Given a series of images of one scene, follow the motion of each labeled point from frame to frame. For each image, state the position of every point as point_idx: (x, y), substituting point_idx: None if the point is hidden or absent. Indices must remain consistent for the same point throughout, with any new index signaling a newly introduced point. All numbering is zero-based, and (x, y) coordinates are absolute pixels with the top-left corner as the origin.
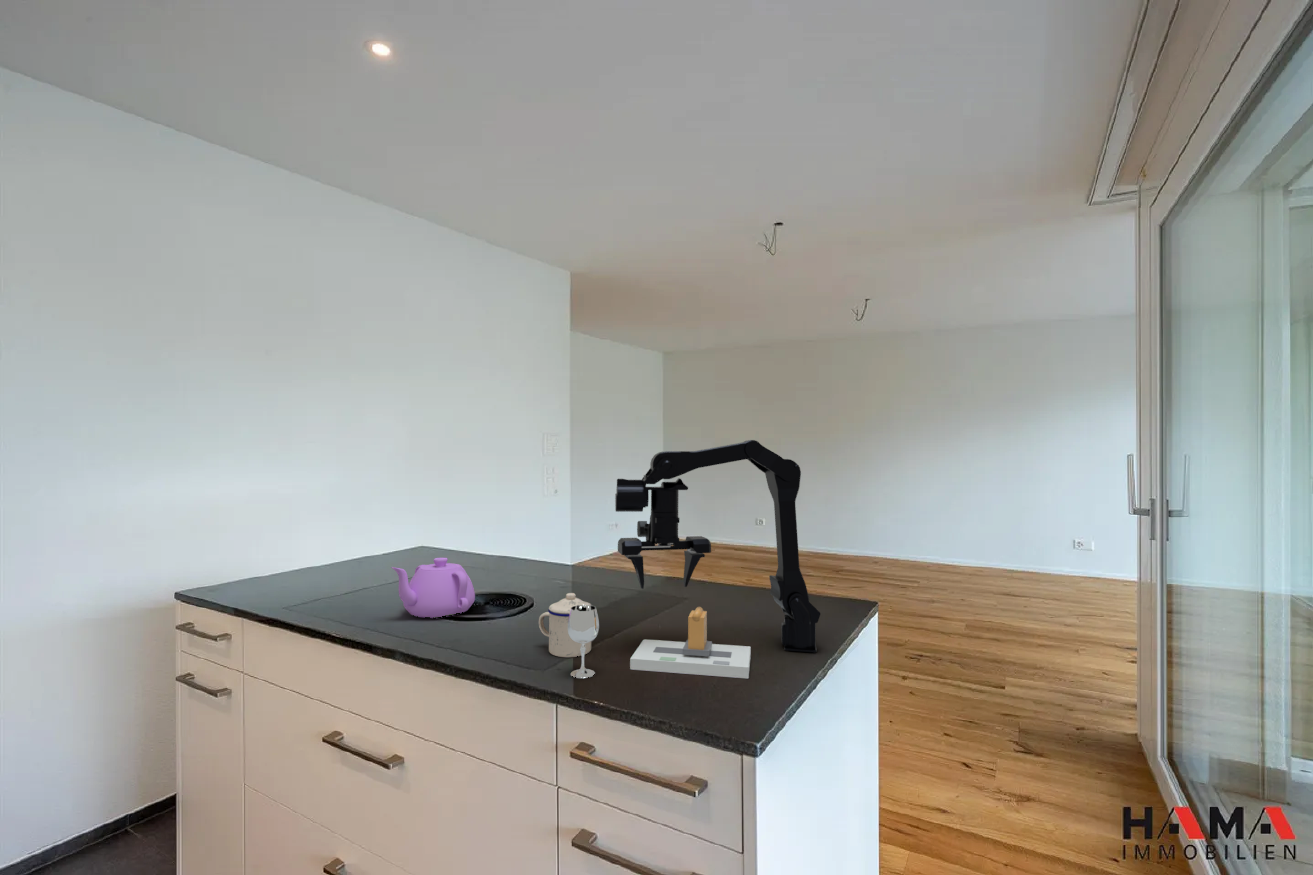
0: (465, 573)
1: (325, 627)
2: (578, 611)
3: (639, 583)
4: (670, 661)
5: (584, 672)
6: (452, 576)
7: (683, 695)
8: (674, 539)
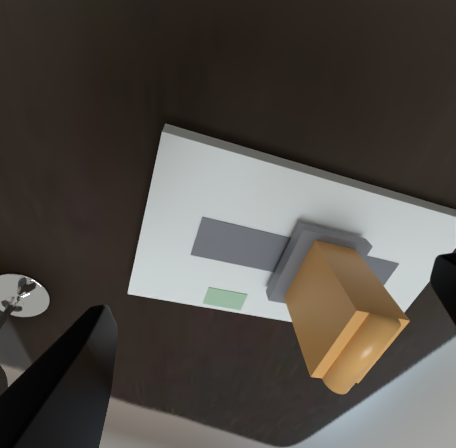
0: None
1: None
2: None
3: (70, 332)
4: (228, 310)
5: (24, 309)
6: None
7: (234, 371)
8: None
